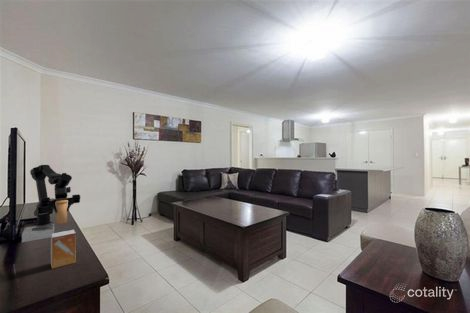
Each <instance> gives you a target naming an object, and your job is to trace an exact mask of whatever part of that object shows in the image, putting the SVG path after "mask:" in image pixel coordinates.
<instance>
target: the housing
mask: <svg viewBox="0 0 470 313" xmlns="http://www.w3.org/2000/svg"><path fill="white" fill-rule="evenodd" d="M53 233H55V223H49V224H45V225H35V226H29V227H24V230H23V231H22V232H21V243H27V242H33V241H38V240H43V239H49V238H50V239H51V234H53Z"/></svg>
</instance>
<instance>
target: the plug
mask: <svg viewBox="0 0 470 313" xmlns="http://www.w3.org/2000/svg"><path fill="white" fill-rule="evenodd" d="M55 204H56V209H57V213H56V225H60V224H66V223H67V222H68V212H67V207H68V200H59V201H56V203H55Z"/></svg>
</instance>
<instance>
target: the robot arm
mask: <svg viewBox="0 0 470 313" xmlns="http://www.w3.org/2000/svg"><path fill="white" fill-rule="evenodd" d="M29 173H30V175H31V178H32V179H33V180H34V181H35V184H36V185H35V186H36V190H37V198H38V202H37V204H36V208H35V210H34V212H33V216H34V217H36V223H35V224H34V225H35V226H42V225H49V224H53V221H51V216H50V215H53V212H54V213H55V214H57V203H56V201H59V200H68V202H67V213H68V212H69V211H70V208H71V206H72V205H74V204H79V203H80V202H81V195H80V194H72V195H71V196H70V197H68V194H69V193H71V191H72V190H71V186H69V184H70V183H71V182H72V179H73V177H72V175H70V174H67V172H62V173H57V172H56V171H55V170H54V169H52V167H51V166H50V165H49V164H41V165H38V166H35V167H33V168H32V169H30V172H29ZM46 178H48V180H47V182H48V184H49V185H51V186H52V185H54V197H53V198H51V197H50V196H49V197H48V192H47V186H46ZM67 186H68V187H67Z"/></svg>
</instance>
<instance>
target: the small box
mask: <svg viewBox="0 0 470 313" xmlns="http://www.w3.org/2000/svg"><path fill="white" fill-rule="evenodd" d="M76 240H77V232H76V231H75V229H70V230H64V231H60V232H54V233H53V234H51V237H50V265H51V269H52V270H53V269H56V268H59V267H60V268H61V267H63V266H67V265H71V264H75V263H76V262H77V260H76V258H77V256H76V253H77V250H76V247H77V246H76V245H77V241H76Z"/></svg>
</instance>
